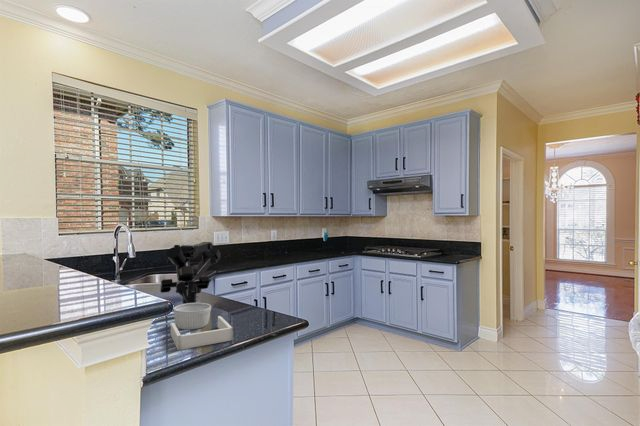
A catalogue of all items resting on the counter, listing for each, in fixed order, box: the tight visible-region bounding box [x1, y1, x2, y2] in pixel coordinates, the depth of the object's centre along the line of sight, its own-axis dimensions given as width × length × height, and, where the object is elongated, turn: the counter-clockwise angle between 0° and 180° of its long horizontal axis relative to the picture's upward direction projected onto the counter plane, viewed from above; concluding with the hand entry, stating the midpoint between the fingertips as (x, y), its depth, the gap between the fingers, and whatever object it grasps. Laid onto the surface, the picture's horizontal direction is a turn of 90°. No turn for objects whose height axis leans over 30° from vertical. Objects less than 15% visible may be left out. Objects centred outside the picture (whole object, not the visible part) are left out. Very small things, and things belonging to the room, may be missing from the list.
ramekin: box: [173, 302, 212, 330], centre depth 124 cm, size 13×13×7 cm
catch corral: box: [170, 315, 234, 351], centre depth 112 cm, size 16×17×4 cm
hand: (187, 301), depth 133 cm, fingers closed
